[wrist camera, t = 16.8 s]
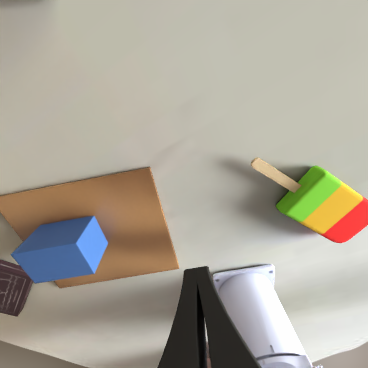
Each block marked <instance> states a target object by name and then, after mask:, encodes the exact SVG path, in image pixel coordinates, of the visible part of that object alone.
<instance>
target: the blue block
mask: <svg viewBox="0 0 368 368" xmlns="http://www.w3.org/2000/svg"><path fill="white" fill-rule="evenodd" d="M107 244H108V242H107V240H106V238H105V236H104V234H103V232H102V230H101V228H100V226H99V224H98V222H97V220H96V218H95V216H88V217H83V218H77V219H72V220H66V221H61V222H55V223H50V224H44V225H40V226H39V227H38V228H37V229H36V230H35V231H34V232H33V233H32V234H31V235H30V236H29V237H28V238H27V239H26V240H25V241H24V242H23V243H22V244H21V245H20V246H19V247H18V248H17V249H16V250H15V251H14V252H13V253H12V254H11V256H12V257H13V258H14V259H15V260H16V262H17V263H18V264H19V265H20V266H21V267H22V269H23V270H24V271H25V272H26V273H27V274H28V276H29V277H30V278H31V279H32V280H33V282H34V283H42V282H48V281H54V280H60V279H66V278H72V277H78V276H84V275H90V274H95V272H96V269H97V267H98V265H99V263H100V260H101V258H102V256H103V254H104V251H105V249H106V247H107Z"/></svg>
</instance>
